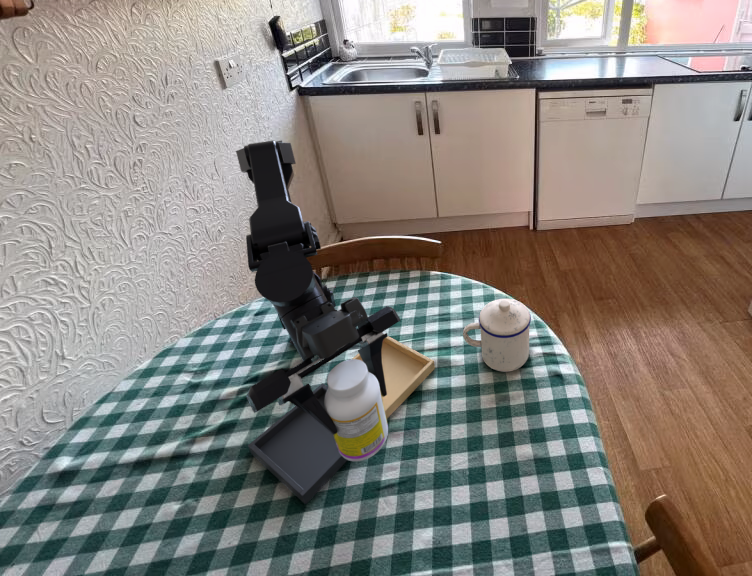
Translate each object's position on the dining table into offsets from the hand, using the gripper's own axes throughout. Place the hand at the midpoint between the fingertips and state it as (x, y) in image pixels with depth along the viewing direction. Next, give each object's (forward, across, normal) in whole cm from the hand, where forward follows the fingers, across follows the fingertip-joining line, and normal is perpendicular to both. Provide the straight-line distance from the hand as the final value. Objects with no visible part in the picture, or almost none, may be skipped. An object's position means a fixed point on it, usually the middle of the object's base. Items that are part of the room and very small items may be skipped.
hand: (361, 413), depth 53 cm
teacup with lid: (+8, +26, +9) cm, 28 cm away
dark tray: (+1, -4, +15) cm, 15 cm away
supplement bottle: (+4, 0, +6) cm, 7 cm away
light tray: (0, +9, +16) cm, 19 cm away
